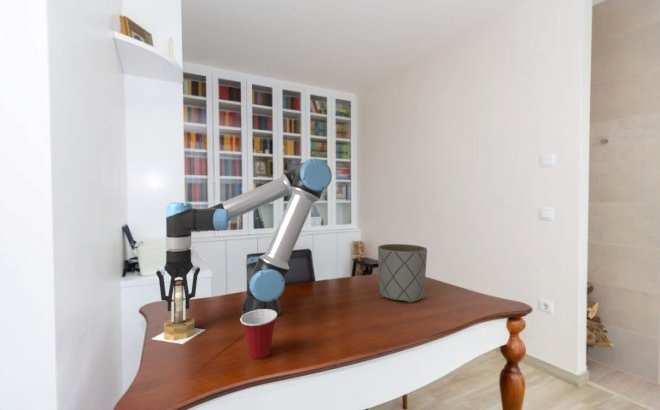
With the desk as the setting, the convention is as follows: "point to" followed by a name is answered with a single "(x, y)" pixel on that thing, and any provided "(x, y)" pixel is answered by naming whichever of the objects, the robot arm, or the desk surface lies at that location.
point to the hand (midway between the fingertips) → (178, 319)
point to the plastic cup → (259, 331)
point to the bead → (179, 329)
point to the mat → (181, 341)
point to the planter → (402, 271)
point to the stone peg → (178, 302)
